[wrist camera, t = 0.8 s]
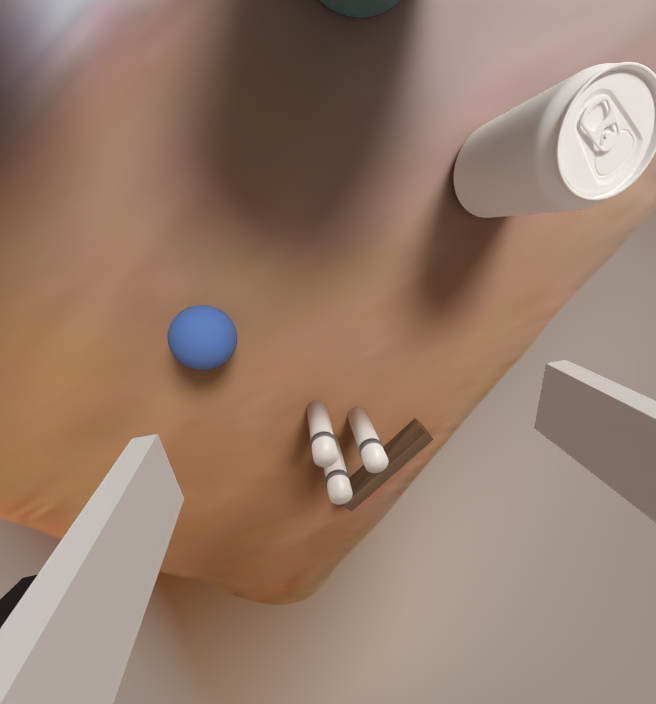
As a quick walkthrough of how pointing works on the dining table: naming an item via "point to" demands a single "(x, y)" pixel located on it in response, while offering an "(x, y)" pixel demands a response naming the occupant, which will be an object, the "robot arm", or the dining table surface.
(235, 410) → the dining table surface
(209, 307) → the ball
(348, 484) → the pin
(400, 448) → the wall
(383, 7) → the flower pot
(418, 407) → the dining table surface
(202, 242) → the dining table surface
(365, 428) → the pin
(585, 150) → the beverage can
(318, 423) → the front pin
